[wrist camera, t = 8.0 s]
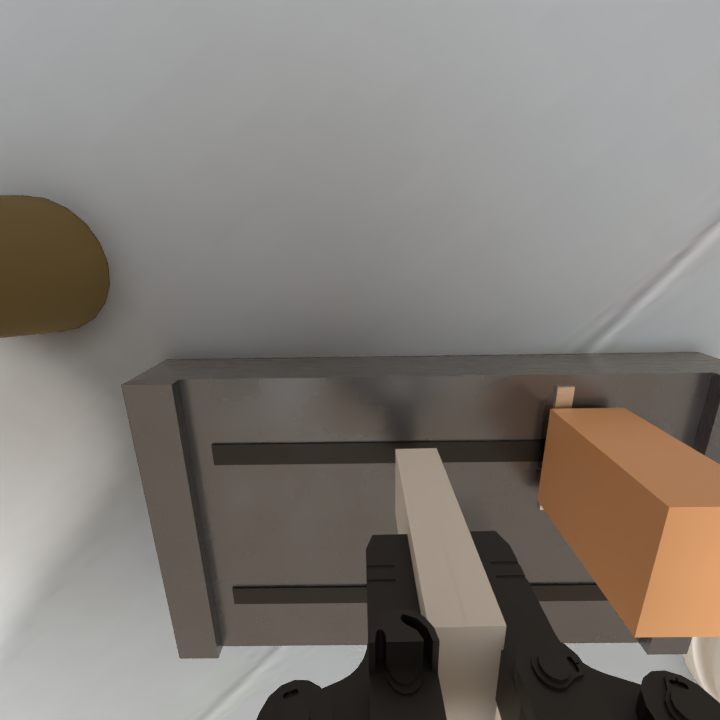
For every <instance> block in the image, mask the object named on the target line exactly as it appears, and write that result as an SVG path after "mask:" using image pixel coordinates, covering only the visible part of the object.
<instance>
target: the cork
mask: <svg viewBox="0 0 720 720" xmlns="http://www.w3.org/2000/svg"><path fill="white" fill-rule="evenodd" d="M109 285H110V284H109V272H108V263H107V260H106V258H105V255H104V253H103V250H102V248H101V245H100V243H99V241H98V240H97V238H96V237H95V236H94V234H93V233H92V232H91V230H90V229H89V228H88V226H87V225H86V223H84V222H83V221H82V220H81V219H79V218H78V217H77V216H76V215H75V214H73V213H72V212H71V211H70V210H68V209H67V208H66V207H63V206H61V205H59V204H57V203H54V202H52V201H50V200H48V199H45V198H39V197H30V196H13V195H0V338H2V337H12V336H21V335H31V334H41V333H51V332H61V331H66V330H70V329H75V328H80V327H81V326H83V325H84V324H86V323H87V322H89V321H91V320H92V319H94V318H95V316H96V315H97V314H98V312H99V311H100V309H101V308H102V307H103V305H104V304H105V301H106V297H107V293H108V289H109Z"/></svg>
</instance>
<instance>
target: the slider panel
mask: <svg viewBox="0 0 720 720" xmlns="http://www.w3.org/2000/svg"><path fill="white" fill-rule="evenodd" d="M121 386H122V391H123V395H124V400H125V405H126V409H127V414H128V419H129V423H130V428H131V433H132V438H133V442H134V447H135V452H136V456H137V461H138V466H139V470H140V475H141V480H142V484H143V489H144V494H145V498H146V503H147V508H148V512H149V517H150V522H151V526H152V531H153V536H154V540H155V545H156V550H157V554H158V559H159V564H160V569H161V573H162V578H163V583H164V587H165V592H166V597H167V601H168V606H169V611H170V615H171V620H172V625H173V629H174V634H175V639H176V643H177V648H178V653H179V657H180V658H219V655H220V652H221V649H222V646H287V645H367V644H368V621H367V580H366V548H367V546H368V543H369V541H370V539H371V537H372V535H386V534H398V529H397V522H396V515H395V449H420V448H437V451H438V453H439V456H440V458H441V461H442V463H443V466H444V468H445V471H446V473H447V476H448V479H449V481H450V484H451V486H452V489H453V491H454V494H455V496H456V499H457V501H458V504H459V506H460V509H461V512H462V514H463V517H464V519H465V522H466V524H467V527H468V529H469V531H496V532H497V533H498V534H499V535H500V536H501V537H502V538H503V539H504V540H505V541H506V542H507V543H508V544H509V545H510V547H511V548H512V550H513V552H514V554H515V556H516V558H517V560H518V564H520V566H521V568H522V570H523V572H524V574H525V578H526V579H527V580H528V582H529V584H530V586H531V588H532V589H533V591H534V593H535V595H536V597H537V599H538V601H539V603H540V605H541V607H542V609H543V611H544V613H545V615H546V617H547V619H548V621H549V623H550V625H551V627H552V628H553V630H554V632H555V634H556V636H557V637H558V639H559V640H560V642H561V643H633V642H639V643H640V645H641V646H642V647H643V649H644V650H645V652H646V653H647V654H687V652H688V649H689V646H690V643H691V640H692V637H634V636H633V635H632V633H631V632H630V630H629V629H628V628H627V626H626V625H625V623H624V622H623V621H622V619H621V618H620V616H619V615H618V614H617V612H616V611H615V609H614V608H613V606H612V605H611V604H610V602H609V601H608V599H607V598H606V597H605V595H604V594H603V592H602V591H601V590H600V588H599V587H598V585H597V584H596V583H595V581H594V580H593V578H592V577H591V575H590V574H589V573H588V571H587V570H586V568H585V567H584V566H583V564H582V563H581V561H580V560H579V559H578V557H577V556H576V554H575V553H574V551H573V550H572V549H571V547H570V546H569V544H568V543H567V542H566V540H565V539H564V537H563V536H562V535H561V533H560V532H559V530H558V529H557V527H556V526H555V525H554V523H553V522H552V520H551V519H550V518H549V516H548V515H547V513H546V512H545V511H544V509H543V508H542V506H541V505H540V504H539V502H538V501H537V498H538V491H539V484H540V477H541V470H542V464H543V457H544V450H545V443H546V436H547V429H548V422H549V415H550V409H569V408H625V409H627V410H629V411H630V412H632V413H634V414H636V415H637V416H639V417H641V418H642V419H644V420H646V421H647V422H649V423H651V424H652V425H654V426H656V427H657V428H659V429H661V430H662V431H664V432H666V433H668V434H669V435H671V436H673V437H674V438H676V439H678V440H679V441H681V442H683V443H684V444H686V445H688V446H689V447H691V448H693V449H694V450H696V451H698V452H700V453H701V454H703V455H705V456H706V457H708V458H710V459H711V460H713V461H715V462H716V463H718V464H720V359H718V358H714V357H711V356H708V355H704V354H701V353H698V352H692V353H618V354H544V355H470V356H396V357H322V358H248V359H175V360H166V361H164V362H162V363H160V364H158V365H157V366H155V367H153V368H151V369H149V370H148V371H146V372H144V373H142V374H141V375H139V376H137V377H135V378H133V379H132V380H130V381H128V382H126V383H124V384H123V385H121ZM495 720H501V716H500V713H499V710H498V707H496V715H495Z"/></svg>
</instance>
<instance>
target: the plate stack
mask: <svg viewBox="0 0 720 720" xmlns="http://www.w3.org/2000/svg"><path fill="white" fill-rule="evenodd" d="M683 657H684V659H685V662H686V664H687V666H688V668H689V670H690V672H691V674H692V675H693V677H694V678H695V680H696V681H697V683H698V684H699V685H700V687H702V688H703V689H704V690H705V691H706V692H708V693H709V694H710V695H711V696H712V697H714V698H715V699H716V700H717V701H718V702H719V703H720V637H692V640H691V643H690V646H689V649H688V652H687V654H683Z"/></svg>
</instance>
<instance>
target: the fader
mask: <svg viewBox="0 0 720 720" xmlns="http://www.w3.org/2000/svg"><path fill="white" fill-rule="evenodd" d="M537 501H538V502H539V504H540V505H541V506H542V508H543V509H544V511H545V512H546V513H547V515H548V516H549V518H550V519H551V520H552V522H553V523H554V525H555V526H556V527H557V529H558V530H559V532H560V533H561V535H562V536H563V537H564V539H565V540H566V542H567V543H568V544H569V546H570V547H571V549H572V550H573V551H574V553H575V554H576V556H577V557H578V559H579V560H580V561H581V563H582V564H583V566H584V567H585V568H586V570H587V571H588V573H589V574H590V575H591V577H592V578H593V580H594V581H595V583H596V584H597V585H598V587H599V588H600V590H601V591H602V592H603V594H604V595H605V597H606V598H607V599H608V601H609V602H610V604H611V605H612V606H613V608H614V609H615V611H616V612H617V614H618V615H619V616H620V618H621V619H622V621H623V622H624V623H625V625H626V626H627V628H628V629H629V630H630V632H631V633H632V635H633V636H634V637H720V464H718V463H716V462H715V461H713V460H711V459H710V458H708V457H706V456H705V455H703V454H701V453H700V452H698V451H696V450H694V449H693V448H691V447H689V446H688V445H686V444H684V443H683V442H681V441H679V440H678V439H676V438H674V437H673V436H671V435H669V434H668V433H666V432H664V431H662V430H661V429H659V428H657V427H656V426H654V425H652V424H651V423H649V422H647V421H646V420H644V419H642V418H641V417H639V416H637V415H636V414H634V413H632V412H630V411H629V410H627V409H625V408H569V409H550V415H549V422H548V429H547V436H546V443H545V450H544V457H543V464H542V470H541V477H540V484H539V491H538V498H537Z"/></svg>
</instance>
